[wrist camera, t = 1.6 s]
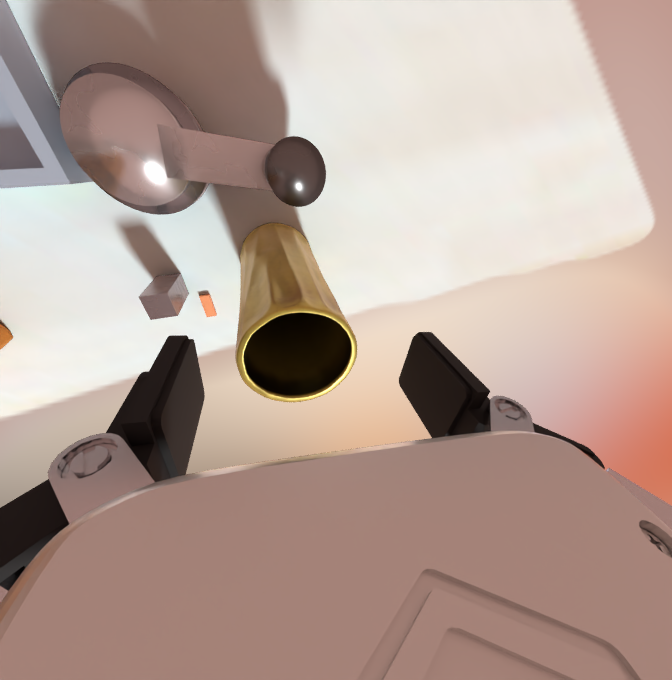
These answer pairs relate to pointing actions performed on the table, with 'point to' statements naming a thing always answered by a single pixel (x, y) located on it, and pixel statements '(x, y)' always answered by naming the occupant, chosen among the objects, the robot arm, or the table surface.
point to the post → (164, 296)
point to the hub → (179, 111)
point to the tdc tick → (208, 305)
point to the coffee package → (4, 336)
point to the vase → (289, 320)
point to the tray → (29, 118)
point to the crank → (173, 148)
